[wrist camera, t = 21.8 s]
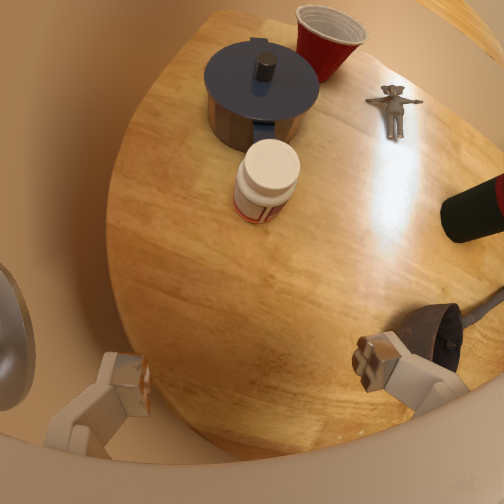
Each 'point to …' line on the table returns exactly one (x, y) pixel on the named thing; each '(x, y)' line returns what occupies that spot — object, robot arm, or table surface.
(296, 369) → the table surface
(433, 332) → the ladle
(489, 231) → the wine bottle
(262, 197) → the pill bottle
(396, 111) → the elephant figurine
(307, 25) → the plastic cup
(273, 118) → the pot lid
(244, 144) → the pot
